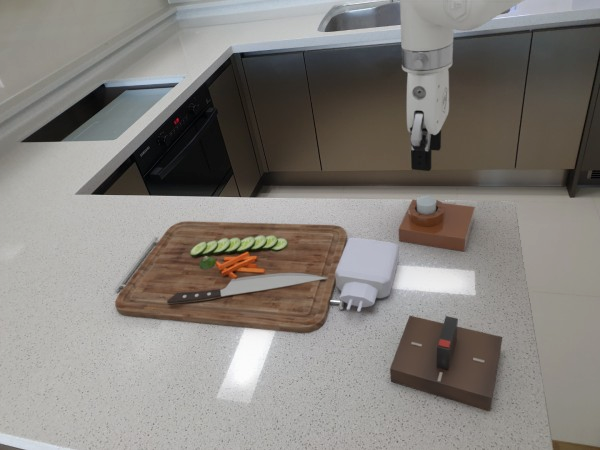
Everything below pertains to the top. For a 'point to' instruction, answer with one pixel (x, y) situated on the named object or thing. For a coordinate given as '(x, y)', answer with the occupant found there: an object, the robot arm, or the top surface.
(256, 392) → the top surface
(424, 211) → the round grey push button
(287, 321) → the chopping board
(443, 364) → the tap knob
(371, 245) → the charger
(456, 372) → the brown flat block
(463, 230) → the brown base with collar
